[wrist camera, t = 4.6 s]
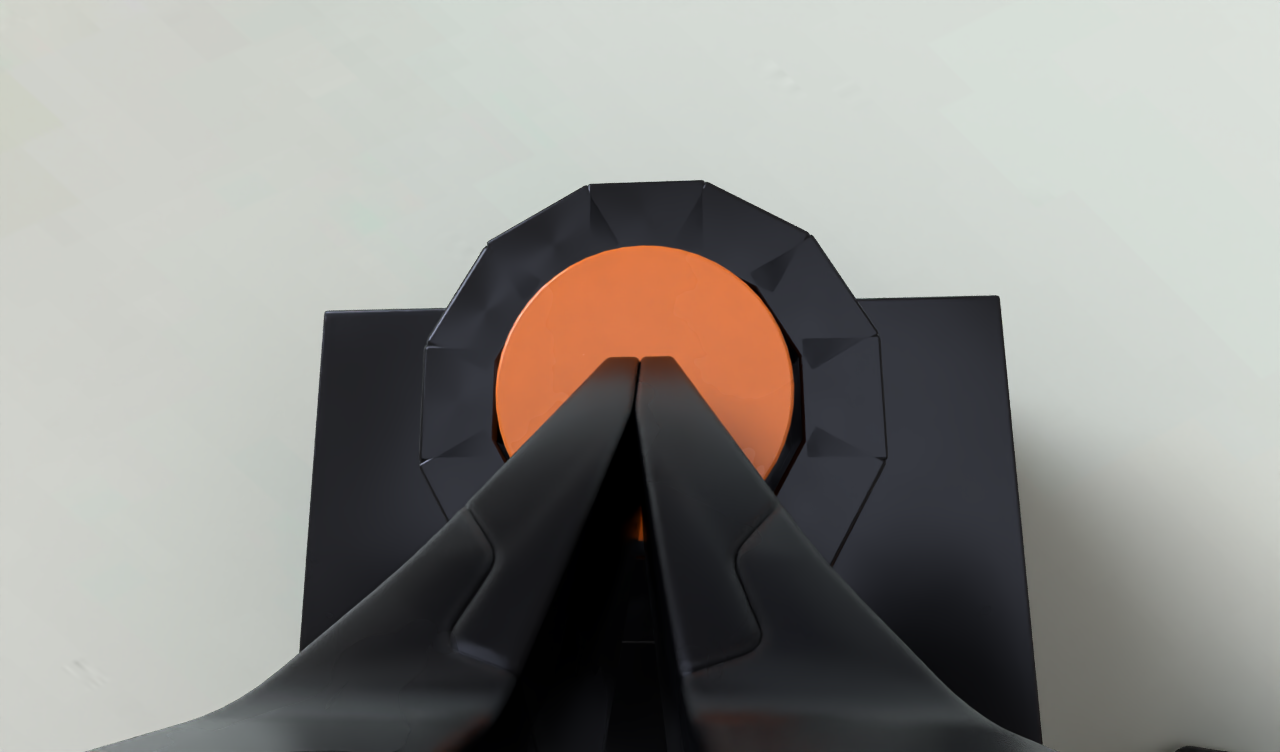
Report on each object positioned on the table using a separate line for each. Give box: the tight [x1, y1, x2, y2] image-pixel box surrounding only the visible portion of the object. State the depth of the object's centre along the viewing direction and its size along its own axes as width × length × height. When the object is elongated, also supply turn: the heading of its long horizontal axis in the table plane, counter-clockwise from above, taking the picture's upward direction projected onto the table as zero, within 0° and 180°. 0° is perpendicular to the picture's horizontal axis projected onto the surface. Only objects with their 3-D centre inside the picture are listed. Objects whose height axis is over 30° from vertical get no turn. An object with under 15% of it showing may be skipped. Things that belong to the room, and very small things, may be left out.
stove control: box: [299, 180, 1043, 752], centre depth 14 cm, size 12×12×8 cm
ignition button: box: [496, 245, 794, 541], centre depth 11 cm, size 4×4×2 cm
